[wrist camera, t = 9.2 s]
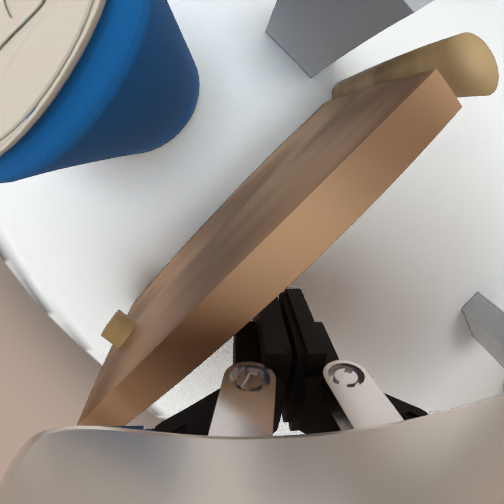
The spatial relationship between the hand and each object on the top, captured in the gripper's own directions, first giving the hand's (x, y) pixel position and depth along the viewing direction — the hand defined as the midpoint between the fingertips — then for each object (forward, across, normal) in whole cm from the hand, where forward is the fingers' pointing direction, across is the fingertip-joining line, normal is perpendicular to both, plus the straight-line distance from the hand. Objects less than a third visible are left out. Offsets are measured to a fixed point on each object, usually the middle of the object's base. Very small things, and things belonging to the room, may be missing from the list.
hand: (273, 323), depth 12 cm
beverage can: (+6, +7, -9) cm, 13 cm away
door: (+6, -4, -10) cm, 12 cm away
